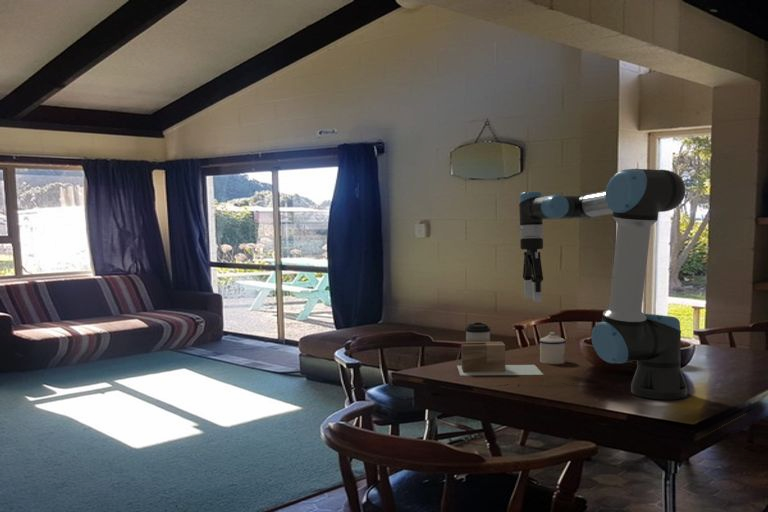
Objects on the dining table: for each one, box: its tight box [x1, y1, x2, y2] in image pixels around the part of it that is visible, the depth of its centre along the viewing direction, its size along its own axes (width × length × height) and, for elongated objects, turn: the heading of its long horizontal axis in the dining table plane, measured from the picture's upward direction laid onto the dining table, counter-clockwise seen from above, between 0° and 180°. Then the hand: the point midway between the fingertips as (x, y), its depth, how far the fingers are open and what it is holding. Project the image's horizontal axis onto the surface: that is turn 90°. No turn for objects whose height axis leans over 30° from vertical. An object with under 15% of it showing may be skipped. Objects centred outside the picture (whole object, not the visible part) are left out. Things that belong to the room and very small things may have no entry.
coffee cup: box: [465, 322, 491, 342], centre depth 242 cm, size 9×9×15 cm
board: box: [456, 364, 545, 376], centre depth 228 cm, size 16×27×6 cm, turn 88°
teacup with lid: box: [539, 331, 566, 365], centre depth 242 cm, size 12×9×12 cm
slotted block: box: [460, 341, 506, 372], centre depth 228 cm, size 7×14×9 cm, turn 88°
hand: (533, 300), depth 228 cm, fingers open, 13 cm apart
